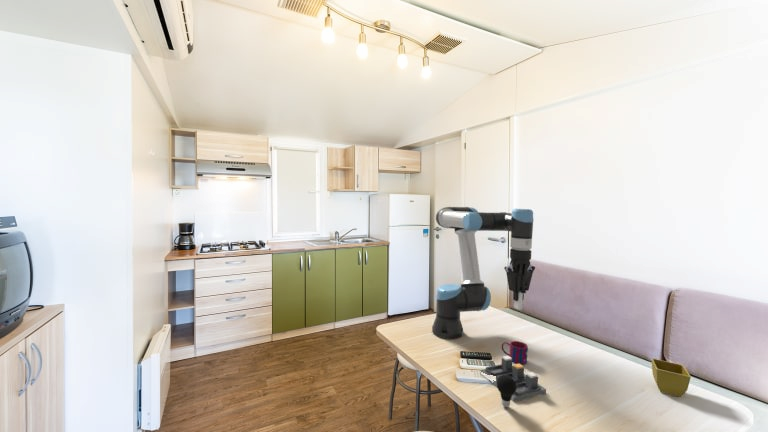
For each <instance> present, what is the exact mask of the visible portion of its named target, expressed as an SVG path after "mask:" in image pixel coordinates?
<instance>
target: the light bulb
mask: <svg viewBox="0 0 768 432" xmlns="http://www.w3.org/2000/svg"><path fill="white" fill-rule="evenodd" d="M496 388H497V390H498V391H499V393H500V397H501V405H502V406H503V407H504V408H509V407H510V405H511V401H512V400H511V397H512V395H513V394H514V393H515V391H516V383H515V381H514V379H513V378H512V377H510V376H508V375H501V376H500V377H499V378H498V379H497V387H496Z"/></svg>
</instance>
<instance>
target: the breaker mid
mask: <svg viewBox="0 0 768 432" xmlns="http://www.w3.org/2000/svg"><path fill="white" fill-rule="evenodd" d="M512 366H513V371H512V376H513V377H514V378H515V379H520V378H524V374H525V368H524V365H521V364H515V363H513V365H512Z"/></svg>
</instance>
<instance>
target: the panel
mask: <svg viewBox="0 0 768 432" xmlns="http://www.w3.org/2000/svg"><path fill="white" fill-rule="evenodd" d="M501 364H502V363H500V364H497V365H495V364H494V365H491V366H487V367H485V368H484V369H480V373H481V372H483V373H485V374H487V375H493V376H496V381H494V380H493V381H494V382H493V383H491V384H492V385H493V386H494V387H495V388H497V379H498V378H499V377H500V376H501V375H508V376H510V377H512V378H513V379H514V381H515V383H516V391H515V393H514V394H513V395H512V397H511V400H510V401H512V402H518V401H521V400H525V399H530V398H533V397H537V396H542V395H545V394H547V389H546V388H545V387H544V386H542V385H541V384H539V383H538V387H537V388H533V389H529V388H528V387H527V386H525V382H526V375H527V374H525V373H524V378H520V379H515V378H514V377H513V376H512V371H513V366H514V365H512V369H510V370H504V369H503V368H501Z"/></svg>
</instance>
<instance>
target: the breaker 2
mask: <svg viewBox="0 0 768 432" xmlns="http://www.w3.org/2000/svg"><path fill="white" fill-rule="evenodd" d="M525 375H526V382H525V386H527V387H528V388H529V389H533V388H537V387H538V384H539V376H538V374H537V373H535V372H533V371H531V372H527V373H526V374H525Z"/></svg>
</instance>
